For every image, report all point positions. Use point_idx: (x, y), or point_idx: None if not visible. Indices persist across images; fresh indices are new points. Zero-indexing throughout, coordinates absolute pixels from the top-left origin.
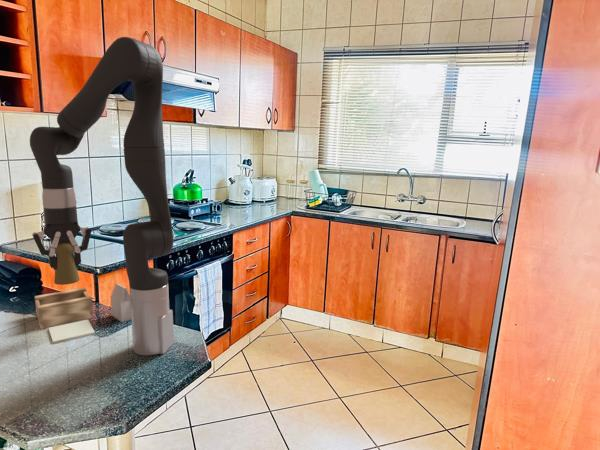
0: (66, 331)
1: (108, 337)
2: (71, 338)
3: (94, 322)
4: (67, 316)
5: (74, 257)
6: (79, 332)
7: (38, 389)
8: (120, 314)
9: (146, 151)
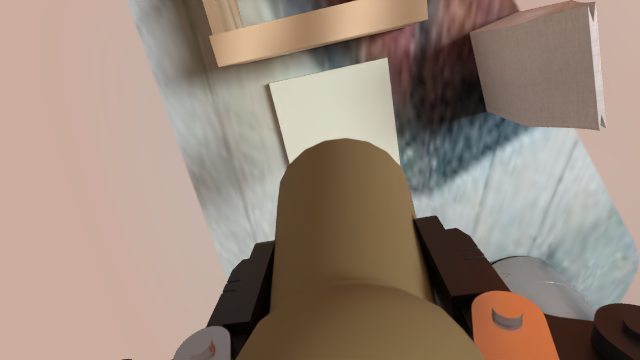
0: (324, 136)
1: (430, 203)
2: None
3: (405, 76)
4: (322, 45)
5: (434, 280)
6: None
7: None
8: (498, 110)
9: None
